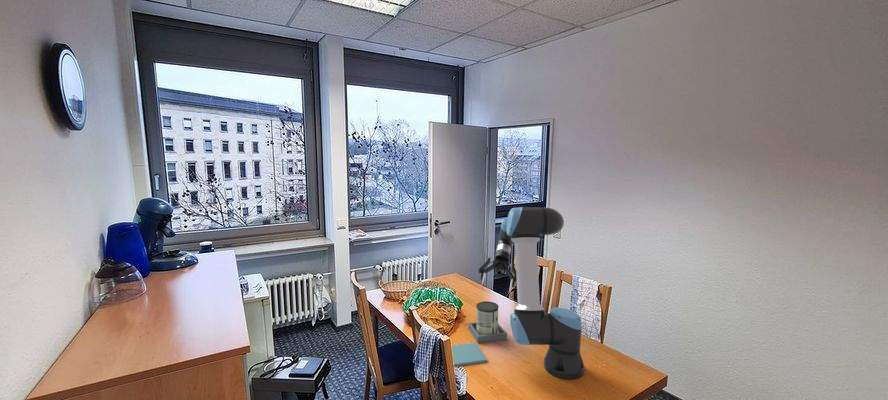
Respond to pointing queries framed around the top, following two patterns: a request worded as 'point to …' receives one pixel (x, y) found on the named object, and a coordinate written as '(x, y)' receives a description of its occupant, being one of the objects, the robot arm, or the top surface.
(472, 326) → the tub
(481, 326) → the coffee can
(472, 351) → the board
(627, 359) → the top surface
